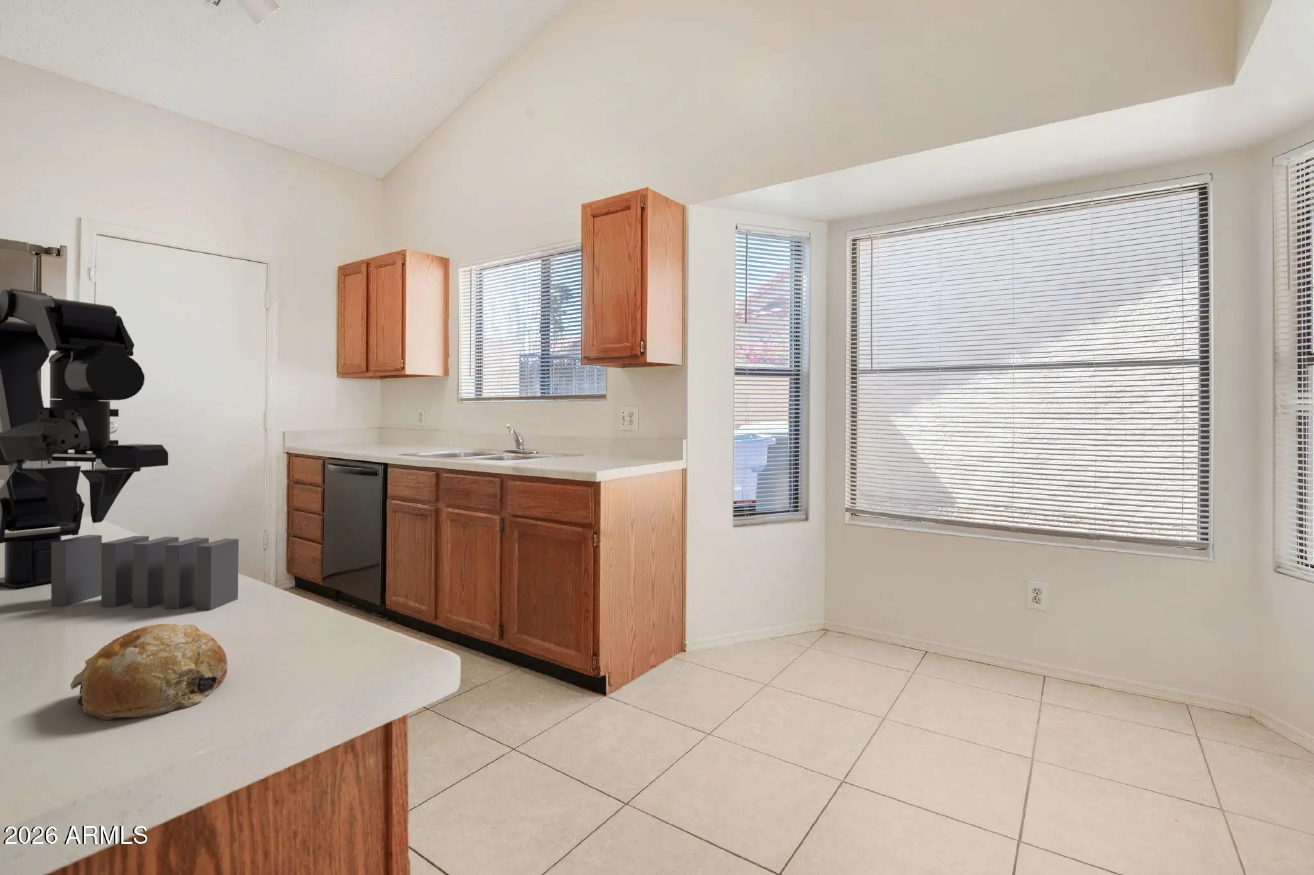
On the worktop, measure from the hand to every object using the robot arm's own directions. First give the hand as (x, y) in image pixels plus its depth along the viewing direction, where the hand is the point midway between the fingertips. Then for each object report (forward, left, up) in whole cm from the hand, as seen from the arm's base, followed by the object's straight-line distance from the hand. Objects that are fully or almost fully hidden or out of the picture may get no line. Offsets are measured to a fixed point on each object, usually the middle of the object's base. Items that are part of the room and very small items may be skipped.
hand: (80, 522), depth 81 cm
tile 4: (+13, +5, -10) cm, 17 cm away
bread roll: (+38, -14, -10) cm, 42 cm away
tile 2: (+5, +2, -10) cm, 12 cm away
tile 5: (+17, +6, -10) cm, 21 cm away
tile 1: (0, 0, -10) cm, 10 cm away
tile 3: (+9, +3, -10) cm, 14 cm away
